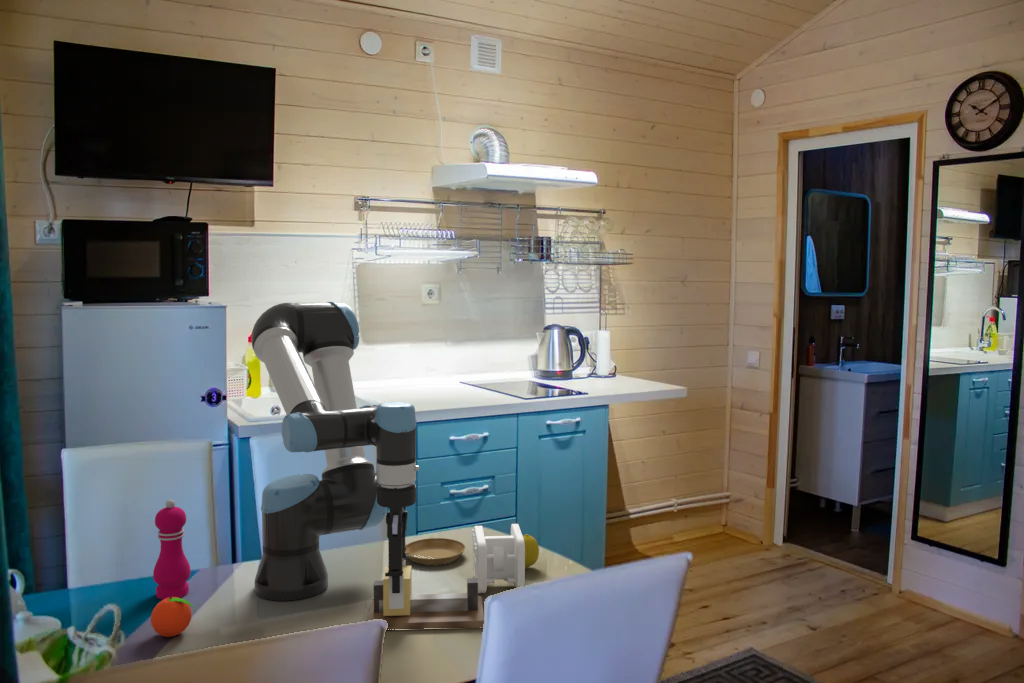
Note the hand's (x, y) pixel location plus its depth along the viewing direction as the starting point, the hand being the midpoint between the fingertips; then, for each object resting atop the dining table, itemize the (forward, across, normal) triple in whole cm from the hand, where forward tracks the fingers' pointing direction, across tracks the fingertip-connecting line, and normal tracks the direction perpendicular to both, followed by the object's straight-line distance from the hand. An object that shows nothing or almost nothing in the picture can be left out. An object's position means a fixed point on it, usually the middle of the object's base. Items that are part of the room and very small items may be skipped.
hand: (397, 599), depth 155 cm
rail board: (+4, 0, -6) cm, 7 cm away
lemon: (+4, +25, -28) cm, 38 cm away
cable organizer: (+4, +16, -20) cm, 26 cm away
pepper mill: (+4, +15, +48) cm, 50 cm away
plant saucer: (+4, +34, -6) cm, 35 cm away
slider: (+2, 0, 0) cm, 2 cm away
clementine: (+4, -5, +40) cm, 41 cm away
